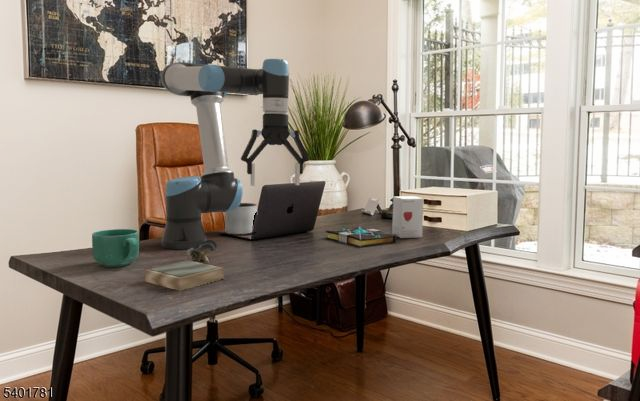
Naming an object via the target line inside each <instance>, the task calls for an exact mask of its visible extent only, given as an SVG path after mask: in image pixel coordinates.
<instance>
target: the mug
mask: <svg viewBox="0 0 640 401" xmlns="http://www.w3.org/2000/svg"><path fill="white" fill-rule="evenodd" d="M91 235H92V236H91V244H92V245H91V247H92V248H91V249H92V255H93V256H92V257H93V259H94V260H95V261H96V262H97V264H100V265H103V267H105V268H119V267H125V266H128V265H130V264H131V263H133V262H134V261H135V260H136V259H137V258H138V257H139V252H140V242H139V241H140V240H139V231H138V230H136V229H130V228H118V229H117V228H116V229H104V230H103V229H102V230H98V231H94V232H92V234H91Z"/></svg>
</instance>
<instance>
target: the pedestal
mask: <svg viewBox="0 0 640 401" xmlns="http://www.w3.org/2000/svg"><path fill="white" fill-rule="evenodd" d="M224 272H225V269H224V267H221V266H216V265H211V264H207V263H202V262H199V263H198V262H196V261H192V260H185V261H180V262H175V263H171V264H167V265H162V266H157V267H156V266H155V267H153V268H146V269H144V282H146V283H148V284H149V283H150V284H153V285H156V286H160V287H163V288H168V289H171V290H174V289H175V290H174V291H179V292H182V291H185V289H186V290H188V289H189V290H190V289H192V288H197V287H199V286H200V285H201V286H204V285H208V284H210V282H212V283H215V282H214V281H216V282H219V281H222V280H221V279H223V280H224V279H225V278H224V277H225V275H224V274H225V273H224ZM218 280H219V281H218ZM207 283H208V284H207ZM203 284H204V285H203ZM196 286H197V287H196ZM181 290H182V291H181Z"/></svg>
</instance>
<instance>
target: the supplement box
mask: <svg viewBox="0 0 640 401" xmlns="http://www.w3.org/2000/svg"><path fill="white" fill-rule="evenodd" d="M423 216H424V198H422V197H419V196H416V195H415V196H414V195H411V196H409V195H408V196H407V195H405V196H403V195H401V196H393V199H392V223H391V224H392V228H391V234H397V238H400V239H413V238H415V239H416V238H423V222H424V221H423V220H424V217H423Z"/></svg>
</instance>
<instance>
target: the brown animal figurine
mask: <svg viewBox="0 0 640 401" xmlns="http://www.w3.org/2000/svg"><path fill="white" fill-rule="evenodd" d="M217 247H218V244H217V243H216V241H215V240H212V239H207V241H205V242H203V243H201V244H199V247H198V248H197V249H196V248H190V249H186V256H188V257H191V259H192V260H195V262H198V263H201V260H202V261H205V262H206V263H208V264H210V260H211V258H210V257H208V256H206V255H207V254H208V253H211V252H215V251H216V250H217Z"/></svg>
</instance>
